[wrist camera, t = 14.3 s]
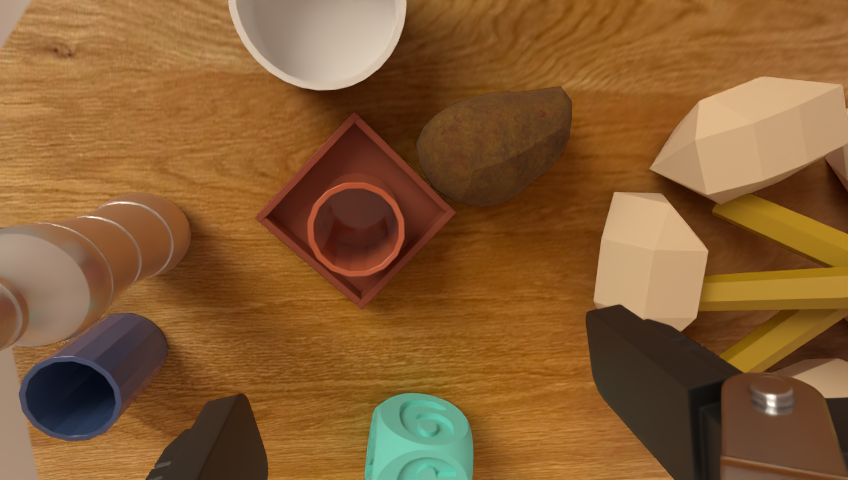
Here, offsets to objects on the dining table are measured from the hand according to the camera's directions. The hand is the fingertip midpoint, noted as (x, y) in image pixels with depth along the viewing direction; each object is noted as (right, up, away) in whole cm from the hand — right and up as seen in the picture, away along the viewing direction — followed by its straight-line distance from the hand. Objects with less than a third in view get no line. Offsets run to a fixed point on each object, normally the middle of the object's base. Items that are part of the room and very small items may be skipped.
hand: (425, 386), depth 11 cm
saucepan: (-4, +22, +26) cm, 34 cm away
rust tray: (-6, +6, +29) cm, 30 cm away
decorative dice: (-1, -15, +34) cm, 37 cm away
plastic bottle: (-22, +4, +28) cm, 35 cm away
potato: (+5, +11, +29) cm, 32 cm away
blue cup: (-25, -6, +29) cm, 39 cm away
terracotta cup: (-5, +6, +29) cm, 30 cm away
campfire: (+31, 0, +35) cm, 47 cm away
